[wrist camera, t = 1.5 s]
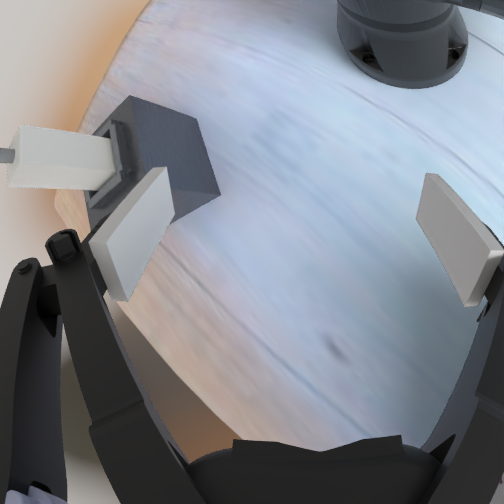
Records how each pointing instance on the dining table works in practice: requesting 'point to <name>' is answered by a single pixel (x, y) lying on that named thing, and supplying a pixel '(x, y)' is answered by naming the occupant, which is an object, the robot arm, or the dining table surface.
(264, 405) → the dining table surface
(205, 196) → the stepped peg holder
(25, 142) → the plug
